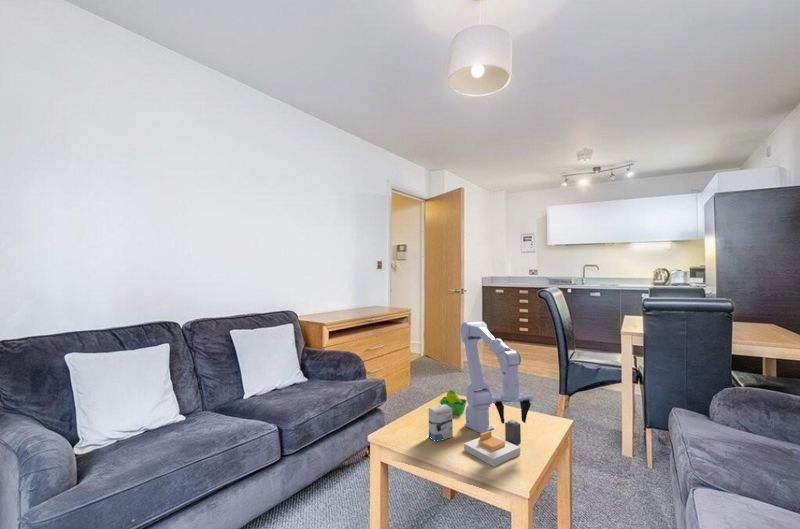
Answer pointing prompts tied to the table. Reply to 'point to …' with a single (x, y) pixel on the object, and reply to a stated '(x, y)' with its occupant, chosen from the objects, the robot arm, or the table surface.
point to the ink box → (440, 422)
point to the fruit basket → (454, 402)
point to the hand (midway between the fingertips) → (513, 422)
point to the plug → (512, 432)
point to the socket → (492, 456)
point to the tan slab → (490, 441)
